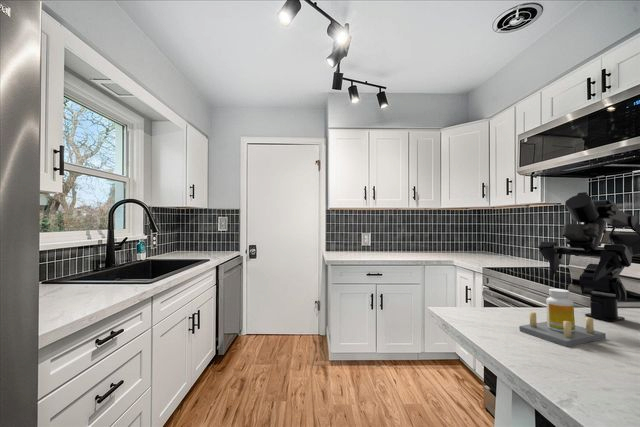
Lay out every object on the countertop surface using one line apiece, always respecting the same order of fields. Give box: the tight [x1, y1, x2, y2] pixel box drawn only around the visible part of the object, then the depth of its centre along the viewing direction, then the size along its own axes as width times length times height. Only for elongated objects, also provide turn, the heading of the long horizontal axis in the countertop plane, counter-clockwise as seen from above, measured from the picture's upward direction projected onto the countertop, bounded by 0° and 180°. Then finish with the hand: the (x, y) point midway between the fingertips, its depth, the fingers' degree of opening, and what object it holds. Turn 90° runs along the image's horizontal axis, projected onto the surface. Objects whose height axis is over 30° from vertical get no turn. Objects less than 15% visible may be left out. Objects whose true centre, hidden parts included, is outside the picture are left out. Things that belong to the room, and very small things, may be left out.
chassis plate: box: [518, 311, 607, 348], centre depth 75 cm, size 14×11×5 cm
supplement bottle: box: [545, 288, 576, 332], centre depth 75 cm, size 5×5×10 cm
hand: (572, 276), depth 79 cm, fingers open, 9 cm apart
